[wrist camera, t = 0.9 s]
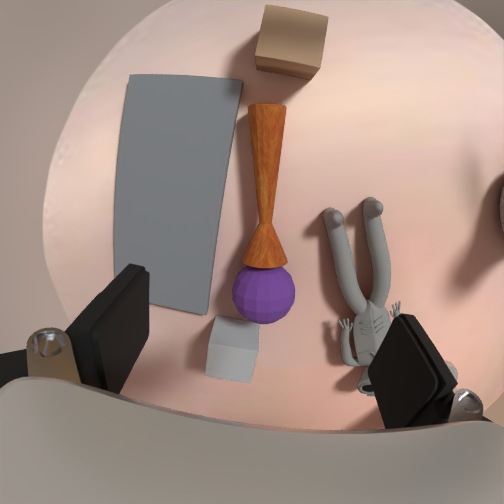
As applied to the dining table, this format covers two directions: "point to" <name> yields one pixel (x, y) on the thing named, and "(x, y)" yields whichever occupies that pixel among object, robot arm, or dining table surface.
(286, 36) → the walnut block
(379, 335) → the alien figure
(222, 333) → the grey block
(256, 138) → the kendama
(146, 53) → the dining table surface
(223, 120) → the charcoal mat
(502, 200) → the coffee pot
